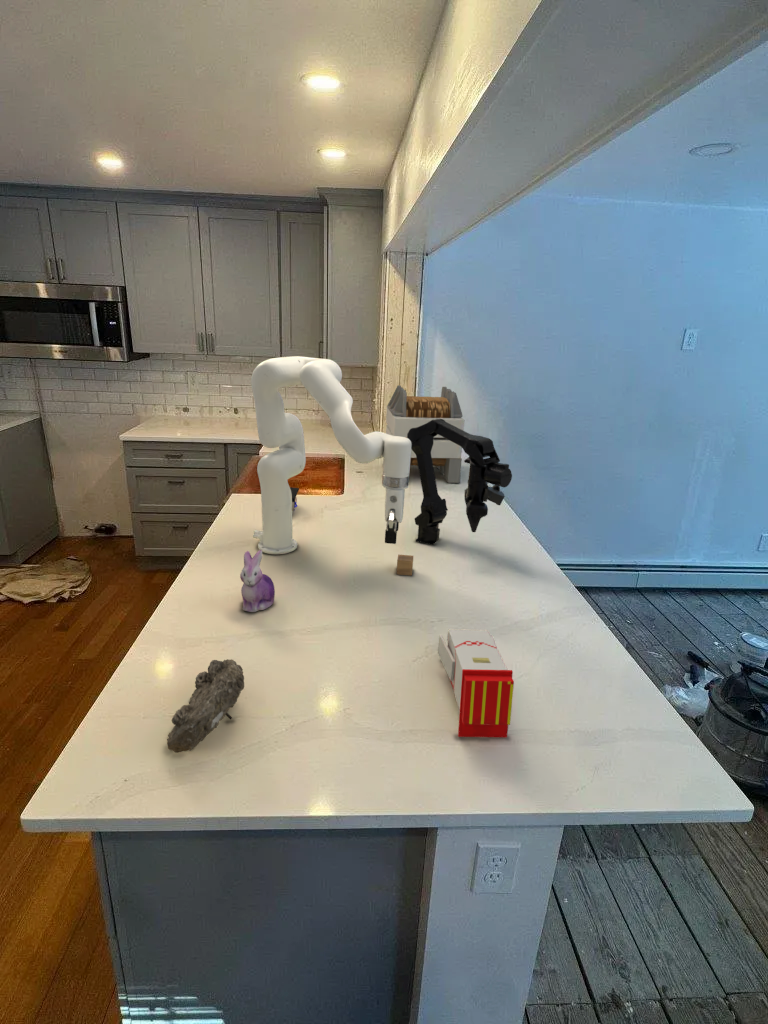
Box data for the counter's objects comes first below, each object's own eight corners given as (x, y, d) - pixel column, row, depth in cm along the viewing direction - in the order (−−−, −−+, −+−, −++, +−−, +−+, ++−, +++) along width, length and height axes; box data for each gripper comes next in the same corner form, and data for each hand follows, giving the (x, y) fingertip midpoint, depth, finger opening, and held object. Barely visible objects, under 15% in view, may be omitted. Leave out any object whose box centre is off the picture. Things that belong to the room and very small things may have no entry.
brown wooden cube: (411, 575, 169) (412, 561, 167) (396, 574, 169) (397, 560, 168) (412, 569, 173) (413, 555, 171) (397, 568, 173) (398, 554, 172)
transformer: (382, 463, 289) (386, 382, 275) (445, 464, 293) (451, 384, 279) (390, 482, 257) (394, 392, 243) (460, 483, 261) (468, 394, 247)
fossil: (192, 660, 117) (244, 628, 112) (224, 691, 120) (276, 661, 115) (142, 746, 98) (202, 712, 93) (182, 779, 101) (242, 748, 96)
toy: (488, 613, 130) (523, 677, 101) (484, 667, 133) (517, 744, 104) (435, 612, 130) (455, 676, 101) (432, 666, 133) (451, 743, 103)
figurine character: (295, 520, 211) (299, 503, 225) (294, 502, 208) (299, 485, 221) (277, 519, 211) (282, 502, 224) (276, 501, 208) (282, 485, 221)
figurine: (245, 617, 142) (242, 562, 137) (235, 598, 151) (232, 547, 146) (281, 609, 147) (280, 556, 142) (270, 592, 155) (268, 541, 150)
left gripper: (407, 491, 151) (402, 549, 157) (410, 473, 168) (405, 527, 174) (379, 488, 152) (375, 547, 158) (384, 471, 168) (381, 524, 174)
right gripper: (507, 490, 164) (501, 539, 170) (501, 472, 182) (496, 518, 187) (469, 487, 165) (464, 537, 170) (466, 470, 183) (462, 515, 188)
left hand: (391, 536), depth 166 cm, fingers open, 9 cm apart
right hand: (472, 526), depth 179 cm, fingers open, 9 cm apart
